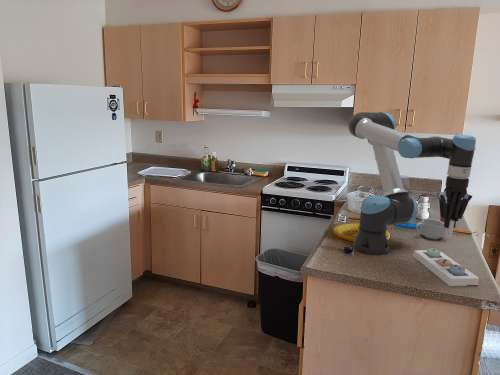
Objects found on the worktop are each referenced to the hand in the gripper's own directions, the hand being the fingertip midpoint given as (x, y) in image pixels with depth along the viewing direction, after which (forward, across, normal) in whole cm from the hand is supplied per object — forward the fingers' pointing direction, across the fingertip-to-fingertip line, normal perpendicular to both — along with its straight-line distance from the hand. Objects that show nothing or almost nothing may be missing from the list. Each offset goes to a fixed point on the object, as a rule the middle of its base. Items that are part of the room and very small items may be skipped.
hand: (447, 235), depth 150 cm
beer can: (+15, +35, +52) cm, 65 cm away
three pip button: (+14, 0, -1) cm, 14 cm away
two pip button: (+12, 0, -9) cm, 15 cm away
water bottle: (+16, +12, +60) cm, 63 cm away
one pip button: (+13, 0, +7) cm, 15 cm away
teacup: (+15, +15, +35) cm, 41 cm away
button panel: (+15, 0, -1) cm, 15 cm away
